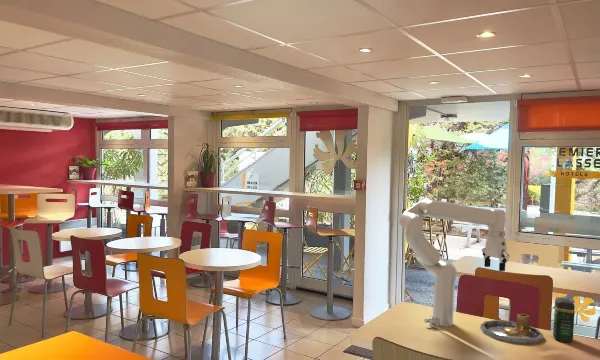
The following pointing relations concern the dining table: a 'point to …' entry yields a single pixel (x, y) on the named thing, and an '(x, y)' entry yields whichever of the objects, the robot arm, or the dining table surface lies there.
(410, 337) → the dining table surface
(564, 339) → the coffee jar
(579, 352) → the dining table surface
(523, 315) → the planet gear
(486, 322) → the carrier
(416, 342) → the dining table surface
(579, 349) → the dining table surface
